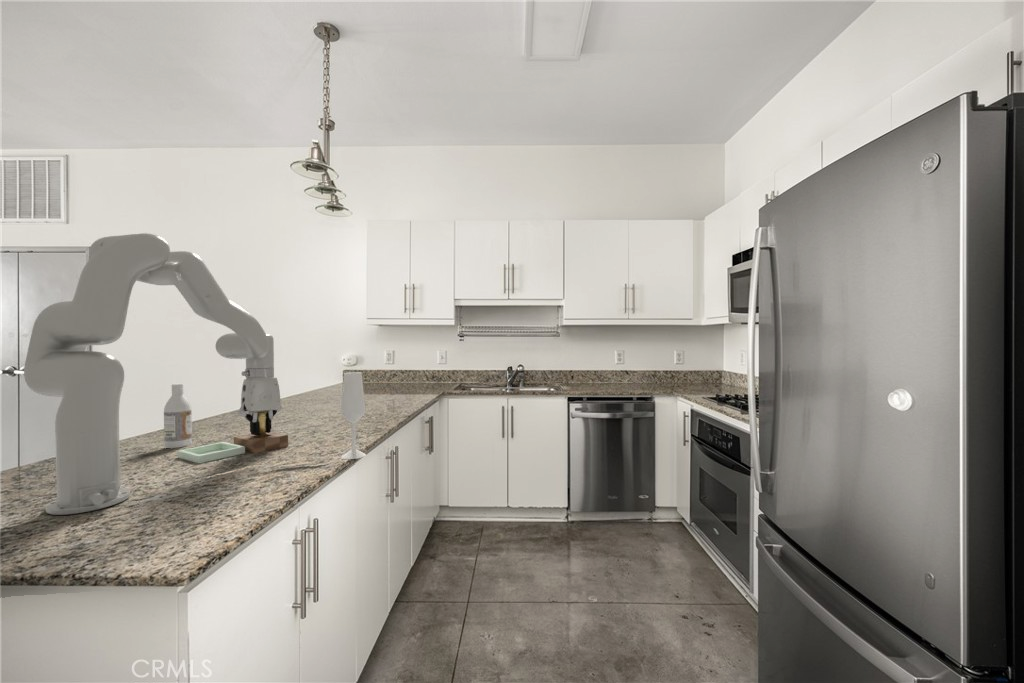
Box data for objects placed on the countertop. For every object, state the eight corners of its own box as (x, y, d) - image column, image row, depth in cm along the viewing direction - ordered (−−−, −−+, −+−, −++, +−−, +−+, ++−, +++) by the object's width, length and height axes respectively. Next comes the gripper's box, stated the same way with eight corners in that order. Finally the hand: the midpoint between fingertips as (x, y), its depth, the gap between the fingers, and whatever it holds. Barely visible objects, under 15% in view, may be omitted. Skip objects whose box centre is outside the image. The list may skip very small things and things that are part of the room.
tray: (244, 455, 129) (244, 446, 129) (198, 465, 118) (198, 456, 118) (223, 450, 135) (223, 441, 135) (177, 459, 124) (177, 450, 124)
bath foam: (185, 449, 136) (184, 384, 136) (159, 450, 135) (158, 385, 135) (196, 443, 143) (195, 382, 143) (171, 445, 142) (170, 383, 142)
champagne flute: (347, 452, 130) (346, 371, 130) (369, 452, 130) (368, 371, 130) (337, 458, 124) (335, 373, 123) (360, 459, 123) (359, 373, 123)
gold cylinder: (268, 442, 136) (268, 404, 136) (258, 444, 134) (258, 405, 134) (263, 441, 138) (262, 403, 138) (253, 443, 135) (252, 404, 135)
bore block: (288, 447, 137) (288, 434, 137) (255, 455, 128) (255, 441, 128) (266, 443, 143) (266, 430, 143) (233, 450, 135) (233, 437, 134)
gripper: (239, 376, 127) (239, 440, 127) (292, 372, 141) (293, 429, 141) (225, 375, 130) (226, 437, 131) (278, 371, 144) (279, 427, 145)
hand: (260, 432), depth 136 cm, fingers closed on gold cylinder, 3 cm apart
